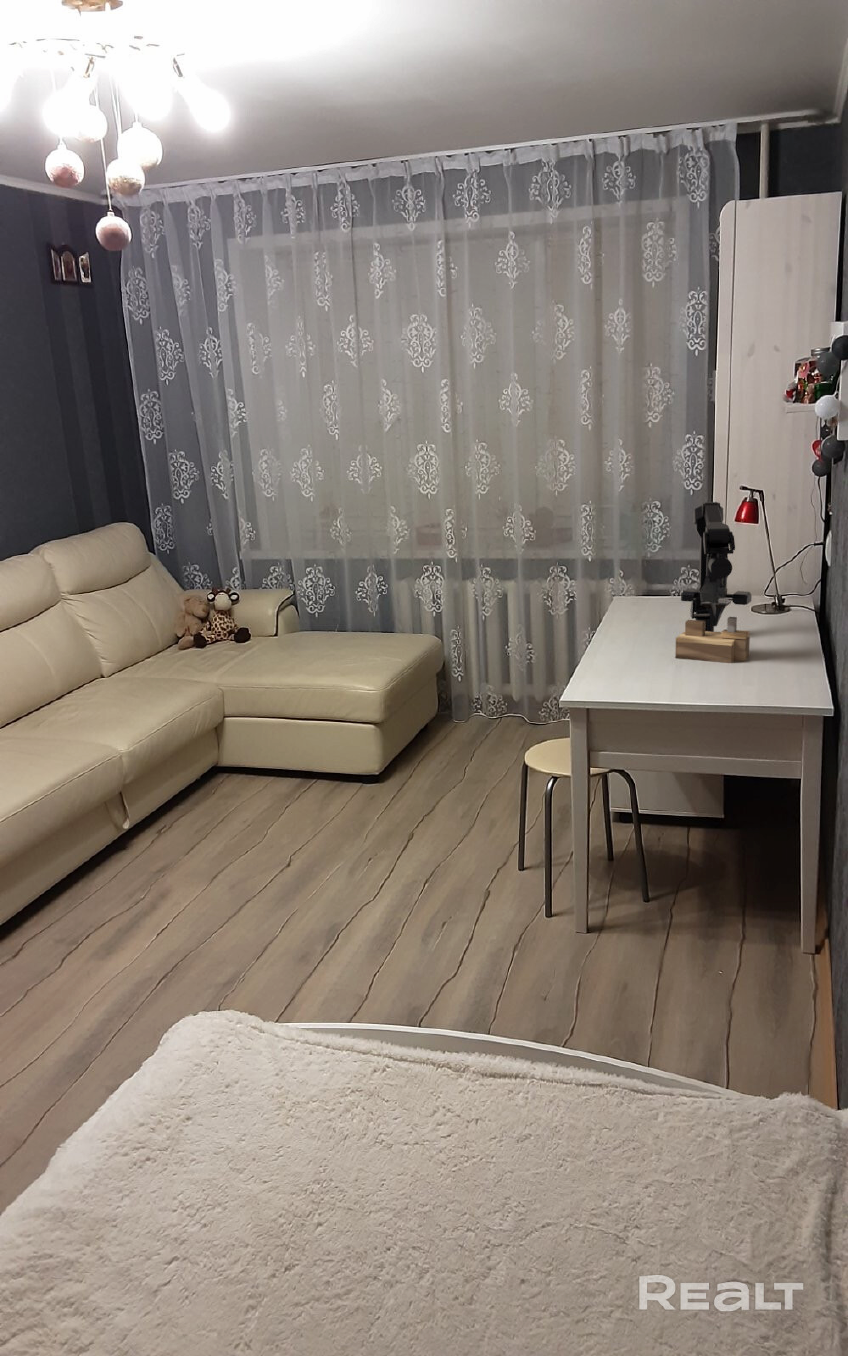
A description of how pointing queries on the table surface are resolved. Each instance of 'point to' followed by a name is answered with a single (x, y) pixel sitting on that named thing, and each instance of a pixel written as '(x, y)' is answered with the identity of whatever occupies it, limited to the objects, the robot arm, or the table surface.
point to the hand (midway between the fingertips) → (715, 626)
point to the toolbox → (714, 651)
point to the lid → (702, 634)
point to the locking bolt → (734, 630)
